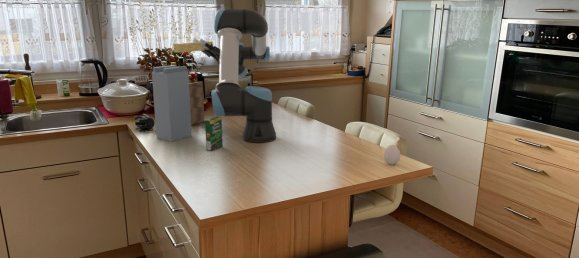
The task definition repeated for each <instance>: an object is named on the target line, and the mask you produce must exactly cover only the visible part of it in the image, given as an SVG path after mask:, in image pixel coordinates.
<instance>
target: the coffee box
mask: <svg viewBox="0 0 579 258" xmlns="http://www.w3.org/2000/svg"><path fill="white" fill-rule="evenodd" d="M222 121H223V120H222V116H217V115H216V116H214V117H211V118H208V119H206V120H205V119H204V125H205V126H204V127H205V129H204V130H205V148H206V151H208V152H212V151H215V150H217V149H219V148H223V145H224V144H223V141H224V140H223V125H222V124H223V123H222Z"/></svg>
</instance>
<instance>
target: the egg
mask: <svg viewBox="0 0 579 258" xmlns="http://www.w3.org/2000/svg"><path fill="white" fill-rule="evenodd" d="M383 160H384V161H385V163H387V164H388V165H392V166H394V165H396V164H397V163H398V162H399V161H400V160H401V151H400V149H399V148H398V146H396V145H395V144H390V145H388V146H387V147H386V148H385V150H384V151H383Z"/></svg>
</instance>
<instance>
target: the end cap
mask: <svg viewBox="0 0 579 258" xmlns="http://www.w3.org/2000/svg"><path fill="white" fill-rule="evenodd" d="M134 120H135V122H134V124H135V129H136V130H137V131H139V132H140V133H143V132H148V131H149V132H150V131H152V129H153V128H154V127H155V126H156V123H155V119H154V118H153V117H151V116H150V115H148V114H146V113H142V114H141V115H134ZM136 120H138V121H136ZM142 131H143V132H142Z"/></svg>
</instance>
